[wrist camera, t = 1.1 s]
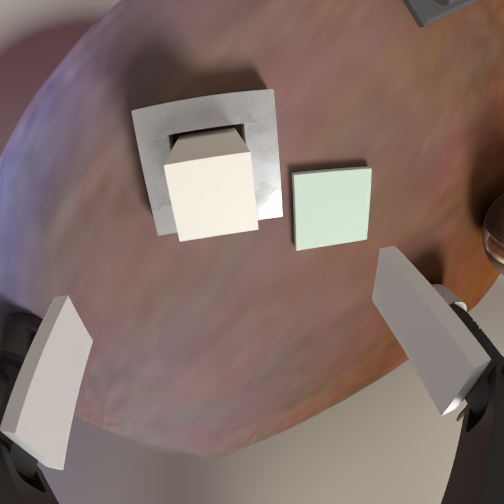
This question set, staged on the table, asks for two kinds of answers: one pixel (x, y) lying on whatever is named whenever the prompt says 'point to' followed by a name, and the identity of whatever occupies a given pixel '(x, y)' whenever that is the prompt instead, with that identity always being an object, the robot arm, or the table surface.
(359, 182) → the pad
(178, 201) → the peg
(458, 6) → the faucet
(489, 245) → the bronze metal ball
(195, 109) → the socket plate
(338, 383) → the table surface
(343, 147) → the table surface
